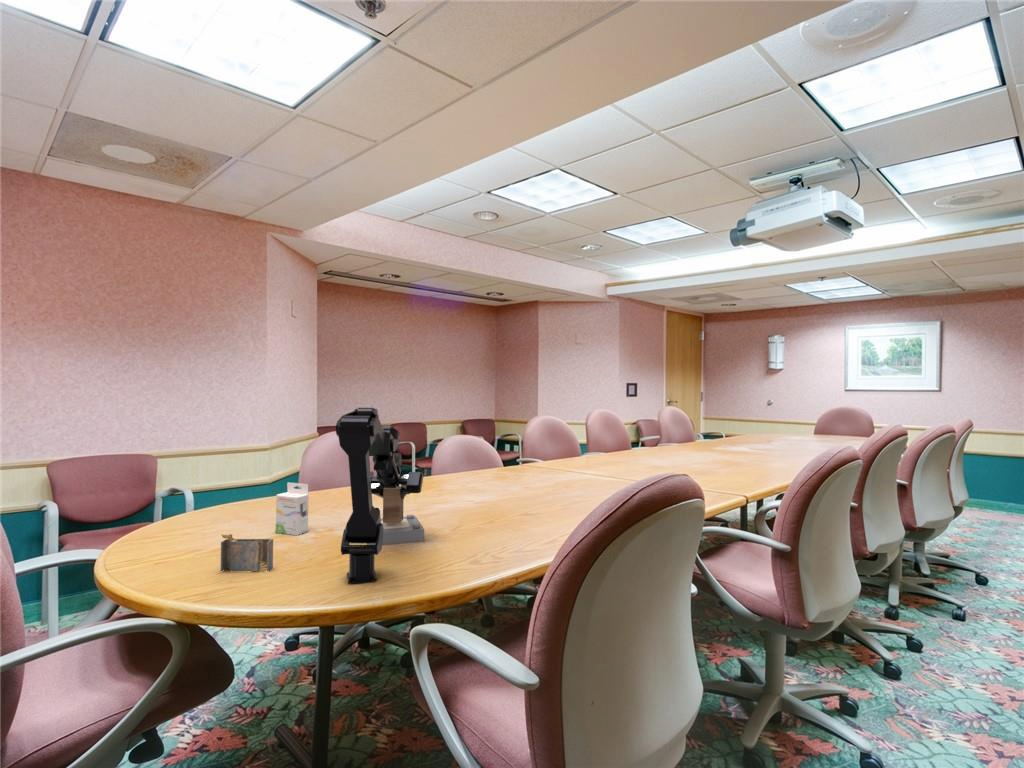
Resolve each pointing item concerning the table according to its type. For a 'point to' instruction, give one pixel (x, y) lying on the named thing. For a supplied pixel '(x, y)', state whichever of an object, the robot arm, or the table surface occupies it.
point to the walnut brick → (392, 505)
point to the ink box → (292, 510)
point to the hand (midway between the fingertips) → (394, 497)
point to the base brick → (402, 531)
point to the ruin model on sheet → (246, 554)
